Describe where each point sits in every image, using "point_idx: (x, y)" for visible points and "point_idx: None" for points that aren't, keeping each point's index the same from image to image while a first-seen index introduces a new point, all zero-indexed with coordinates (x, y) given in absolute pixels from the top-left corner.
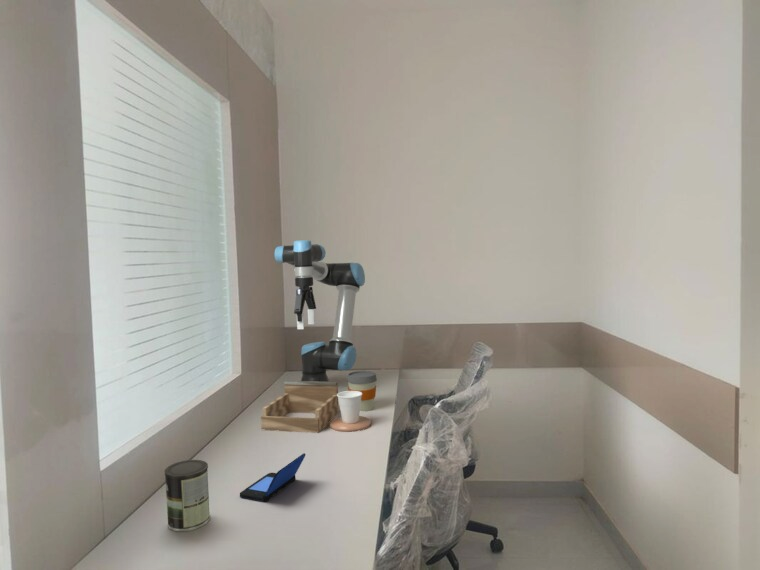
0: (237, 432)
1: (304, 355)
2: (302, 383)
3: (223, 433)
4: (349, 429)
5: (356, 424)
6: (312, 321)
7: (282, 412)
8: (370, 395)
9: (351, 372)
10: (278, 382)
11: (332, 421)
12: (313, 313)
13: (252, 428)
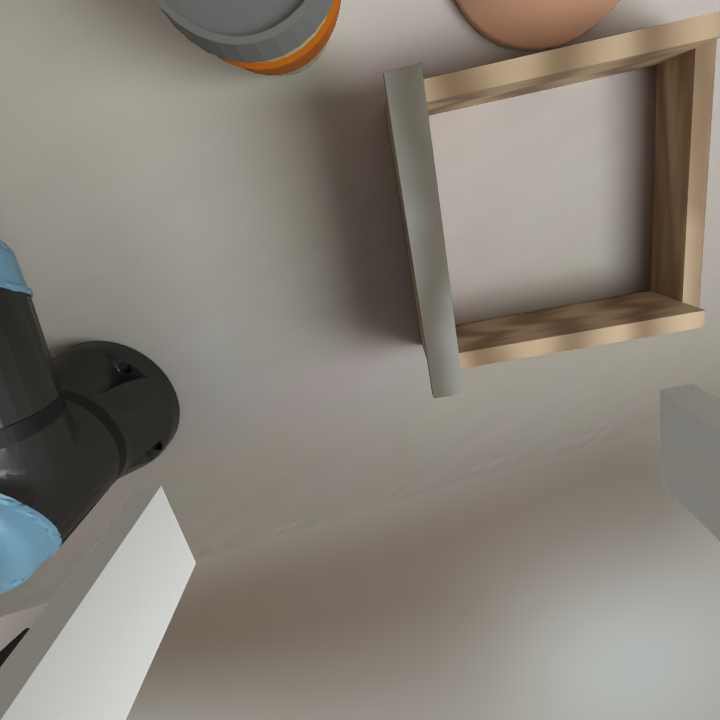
0: (701, 366)
1: (65, 526)
2: (449, 292)
3: None
4: None
5: None
6: (150, 539)
7: (504, 322)
8: None
9: (213, 37)
10: None
11: (558, 32)
12: (45, 661)
13: (652, 343)
